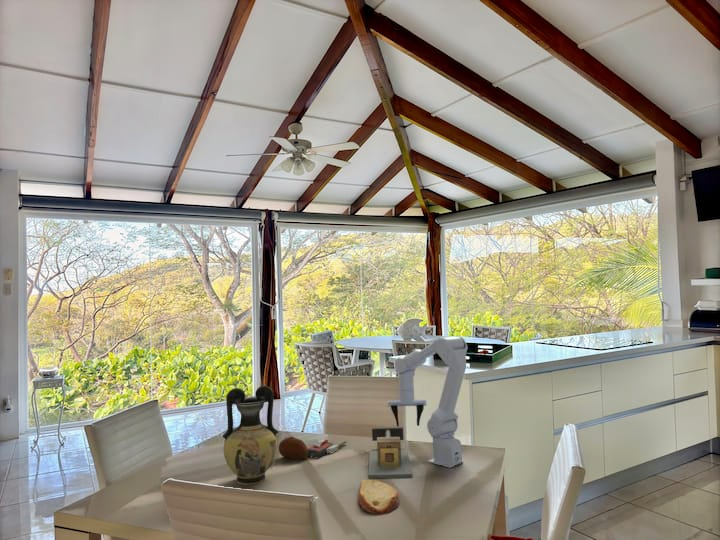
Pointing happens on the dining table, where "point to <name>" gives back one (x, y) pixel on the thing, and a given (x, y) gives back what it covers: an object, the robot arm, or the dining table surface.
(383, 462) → the collar
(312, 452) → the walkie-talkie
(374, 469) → the mat
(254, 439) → the amphora
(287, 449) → the potato
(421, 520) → the dining table surface
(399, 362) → the robot arm
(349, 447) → the dining table surface
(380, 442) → the bearing block
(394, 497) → the slice of bread
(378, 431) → the grey and silver t-piece
